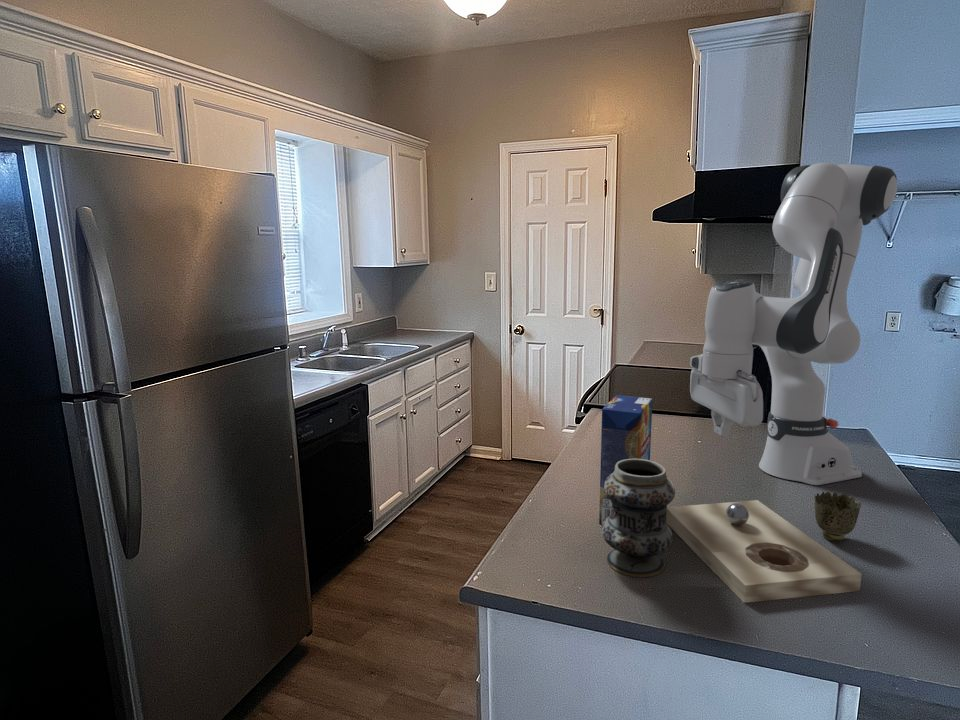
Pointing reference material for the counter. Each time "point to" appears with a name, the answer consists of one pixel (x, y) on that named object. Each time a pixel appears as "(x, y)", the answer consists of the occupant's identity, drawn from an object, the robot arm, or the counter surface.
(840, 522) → the cup
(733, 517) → the steel ball
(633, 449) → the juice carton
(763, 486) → the counter surface
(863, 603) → the counter surface
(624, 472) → the apothecary jar
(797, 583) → the hole board
